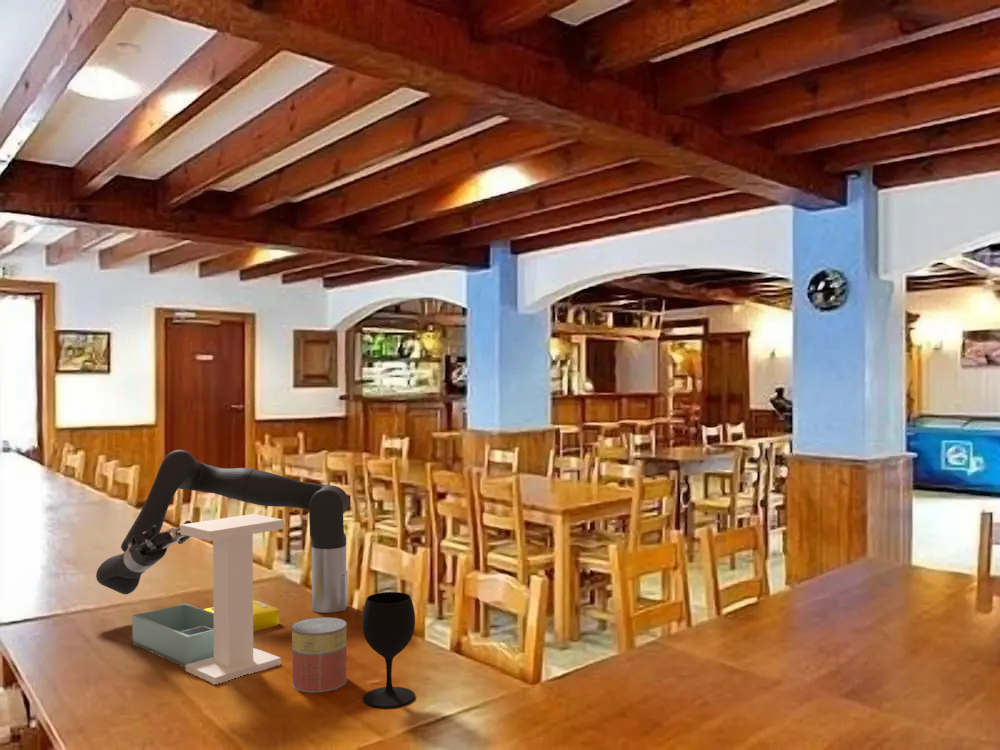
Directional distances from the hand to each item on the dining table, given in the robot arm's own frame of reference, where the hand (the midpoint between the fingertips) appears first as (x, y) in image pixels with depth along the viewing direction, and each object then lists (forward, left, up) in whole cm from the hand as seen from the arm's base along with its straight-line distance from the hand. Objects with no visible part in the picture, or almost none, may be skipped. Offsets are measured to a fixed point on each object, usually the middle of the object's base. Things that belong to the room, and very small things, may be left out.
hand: (173, 526), depth 202 cm
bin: (-4, +4, -28) cm, 29 cm away
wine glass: (-53, +38, -28) cm, 71 cm away
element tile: (-12, -14, -29) cm, 34 cm away
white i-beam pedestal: (-18, +18, -28) cm, 38 cm away
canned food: (-38, +28, -28) cm, 55 cm away
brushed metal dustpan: (-3, +4, -27) cm, 27 cm away
